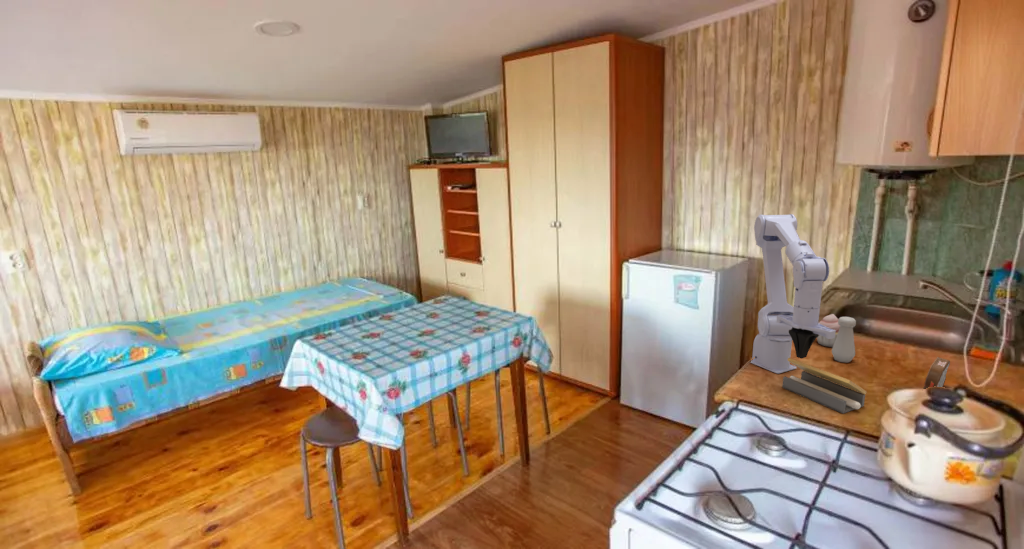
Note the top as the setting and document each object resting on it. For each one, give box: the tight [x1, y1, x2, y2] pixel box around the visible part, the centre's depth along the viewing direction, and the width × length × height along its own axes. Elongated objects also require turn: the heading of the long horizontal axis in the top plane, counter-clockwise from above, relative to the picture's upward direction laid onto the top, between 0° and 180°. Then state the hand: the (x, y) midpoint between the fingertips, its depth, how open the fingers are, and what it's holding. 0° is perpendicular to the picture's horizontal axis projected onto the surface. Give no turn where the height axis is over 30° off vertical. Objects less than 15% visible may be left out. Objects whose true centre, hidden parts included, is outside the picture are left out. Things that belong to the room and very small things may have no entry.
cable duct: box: [781, 370, 866, 414], centre depth 131 cm, size 18×8×3 cm, turn 26°
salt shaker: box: [831, 316, 857, 364], centre depth 152 cm, size 6×6×13 cm
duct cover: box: [788, 357, 867, 395], centre depth 130 cm, size 16×8×1 cm
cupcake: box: [816, 313, 840, 348], centre depth 164 cm, size 9×9×10 cm
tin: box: [922, 356, 951, 390], centre depth 131 cm, size 15×3×8 cm, turn 133°
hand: (801, 357), depth 133 cm, fingers closed
